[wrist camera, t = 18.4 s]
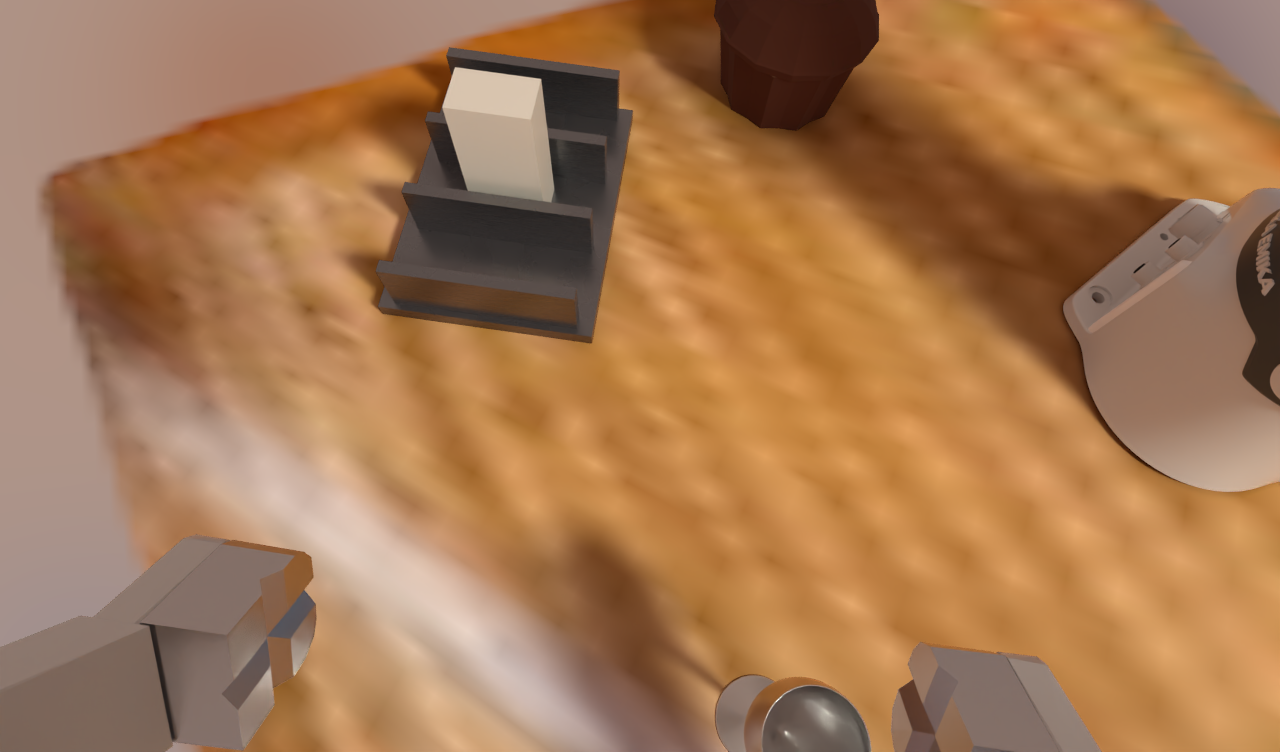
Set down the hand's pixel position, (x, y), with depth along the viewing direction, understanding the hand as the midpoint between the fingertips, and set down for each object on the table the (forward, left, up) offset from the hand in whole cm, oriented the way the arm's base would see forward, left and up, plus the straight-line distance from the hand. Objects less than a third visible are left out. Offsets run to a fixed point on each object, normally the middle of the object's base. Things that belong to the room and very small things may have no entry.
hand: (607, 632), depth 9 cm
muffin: (-39, -18, -32) cm, 54 cm away
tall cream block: (-17, -24, -30) cm, 43 cm away
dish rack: (-17, -24, -31) cm, 43 cm away
